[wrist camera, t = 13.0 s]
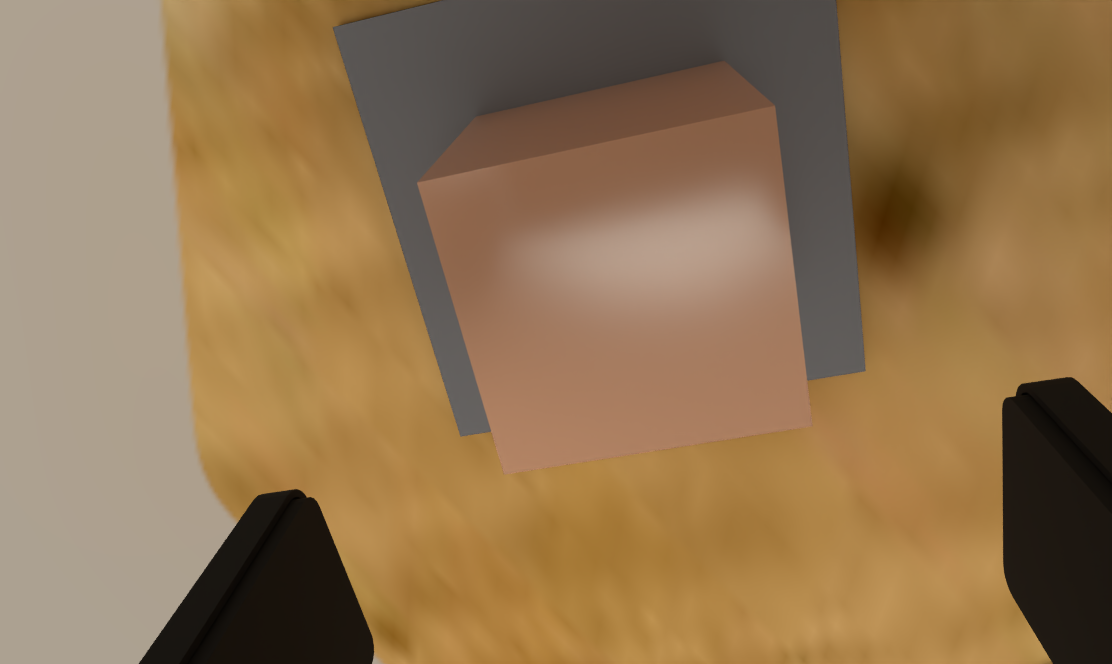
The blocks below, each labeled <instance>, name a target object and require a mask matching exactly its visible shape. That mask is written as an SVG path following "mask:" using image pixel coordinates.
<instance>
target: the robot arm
mask: <svg viewBox="0 0 1112 664" xmlns="http://www.w3.org/2000/svg"><path fill="white" fill-rule="evenodd" d="M1002 438H1003V565H1004V573H1005V578H1006V581H1007V585H1008V587H1009V590H1010V592H1011V594H1012V596H1013V598H1014V600H1015V601H1016V603H1017V605H1018V606H1019V608H1020V610H1021V611H1022V613H1023V615H1024V616H1025V618H1026V620H1027V621H1028V623H1029V625H1030V626H1031V628H1032V630H1033V631H1034V633H1035V635H1036V636H1037V638H1038V640H1039V641H1040V643H1041V645H1042V646H1043V648H1044V649H1045V651H1046V653H1047V654H1048V656H1049V658H1050V659H1051V661H1052V663H1053V664H1112V413H1111V412H1110V411H1109V410H1108V409H1107V408H1106V407H1105V406H1104V405H1102V404H1101V403H1100V402H1099V401H1098V400H1097V399H1096V398H1095V397H1094V396H1093V395H1092V394H1091V393H1090V392H1089V391H1088V390H1086V389H1085V388H1084V387H1083V386H1082V385H1081V384H1080V383H1079V382H1078V381H1077V380H1075V379H1074V378H1072V377H1066V378H1059V379H1052V380H1045V381H1038V382H1031V383H1024V384H1021V385H1020V386H1019V387H1018V389H1017V392H1016V396H1015V397H1008V398H1006V399H1005V400H1004V402H1003V408H1002ZM373 656H374V644H373V638H372V635H371V632H370V630H369V627H368V625H367V622H366V620H365V617H364V615H363V612H362V610H361V608H360V605H359V603H358V600H357V598H356V595H355V593H354V590H353V588H352V585H351V583H350V580H349V578H348V576H347V573H346V571H345V568H344V566H343V563H342V561H341V558H340V556H339V553H338V551H337V548H336V546H335V544H334V541H333V539H332V536H331V534H330V531H329V529H328V526H327V524H326V521H325V519H324V516H323V514H322V511H321V509H320V507H319V505H318V503H317V501H316V500H315V499H314V498H311V497H309V498H307V497H306V495H305V494H304V493H303V492H302V491H300V490H297V489H294V490H287V491H281V492H274V493H267V494H261V495H258V496H257V497H256V498H255V499H254V500H253V502H252V503H251V504H250V506H249V507H248V509H247V510H246V512H245V513H244V514H243V516H242V517H241V519H240V520H239V522H238V523H237V524H236V526H235V528H234V529H233V530H232V532H231V533H230V534H229V536H228V537H227V539H226V540H225V542H224V543H223V544H222V546H221V547H220V549H219V550H218V551H217V553H216V554H215V556H214V557H213V559H212V560H211V562H210V563H209V564H208V566H207V567H206V569H205V570H204V572H203V573H202V574H201V576H200V577H199V579H198V580H197V581H196V583H195V584H194V586H193V587H192V589H191V590H190V591H189V593H188V594H187V596H186V597H185V599H184V600H183V602H182V603H181V604H180V606H179V607H178V609H177V610H176V612H175V613H174V614H173V616H172V617H171V619H170V620H169V621H168V623H167V624H166V626H165V627H164V629H163V630H162V631H161V633H160V634H159V636H158V637H157V638H156V640H155V641H154V643H153V644H152V646H151V647H150V649H149V650H148V651H147V653H146V654H145V656H144V657H143V658H142V660H141V661H140V663H139V664H372V661H373Z"/></svg>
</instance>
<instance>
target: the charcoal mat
mask: <svg viewBox="0 0 1112 664" xmlns="http://www.w3.org/2000/svg"><path fill="white" fill-rule="evenodd" d="M333 30H334V33H335V36H336V40H337V43H338V46H339V49H340V52H341V56H342V59H343V62H344V65H345V68H346V72H347V75H348V78H349V81H350V84H351V88H352V91H353V94H354V97H355V100H356V103H357V107H358V110H359V113H360V116H361V119H362V123H363V126H364V129H365V132H366V135H367V139H368V142H369V145H370V148H371V151H372V155H373V158H374V161H375V164H376V167H377V171H378V174H379V177H380V180H381V183H382V187H383V190H384V193H385V196H386V199H387V203H388V206H389V209H390V212H391V215H392V219H393V222H394V225H395V228H396V231H397V235H398V238H399V241H400V244H401V247H402V251H403V254H404V257H405V260H406V263H407V267H408V270H409V273H410V276H411V279H412V283H413V286H414V289H415V292H416V295H417V299H418V302H419V305H420V308H421V311H422V315H423V318H424V321H425V324H426V327H427V331H428V334H429V337H430V340H431V343H432V347H433V350H434V353H435V356H436V359H437V363H438V366H439V369H440V372H441V375H442V379H443V382H444V385H445V388H446V391H447V394H448V398H449V401H450V404H451V407H452V410H453V414H454V417H455V420H456V423H457V426H458V430H459V433H460V436H467V435H473V434H479V433H485V432H491V429H490V425H489V422H488V419H487V415H486V412H485V409H484V405H483V402H482V399H481V395H480V392H479V389H478V385H477V382H476V379H475V375H474V372H473V369H472V365H471V362H470V359H469V355H468V352H467V348H466V345H465V342H464V338H463V335H462V332H461V328H460V325H459V322H458V318H457V315H456V312H455V308H454V305H453V302H452V298H451V295H450V292H449V288H448V285H447V282H446V278H445V275H444V272H443V268H442V265H441V262H440V258H439V255H438V252H437V248H436V245H435V242H434V238H433V235H432V231H431V228H430V225H429V221H428V218H427V215H426V211H425V208H424V205H423V201H422V198H421V195H420V191H419V188H418V185H417V182H418V181H419V180H420V179H421V178H422V176H423V175H424V174H425V173H426V172H427V171H428V170H429V169H430V167H431V166H432V165H433V164H434V163H435V162H436V161H437V160H438V158H439V157H440V156H441V155H442V154H443V153H444V152H445V151H446V149H447V148H448V147H449V146H450V145H451V144H452V143H453V142H454V140H455V139H456V138H457V137H458V136H459V135H460V134H461V133H462V131H463V130H464V129H465V128H466V127H467V126H468V125H469V124H470V122H471V121H472V120H473V119H474V118H475V117H476V116H481V115H485V114H490V113H494V112H499V111H503V110H507V109H512V108H516V107H521V106H525V105H530V104H534V103H538V102H543V101H547V100H552V99H556V98H561V97H565V96H570V95H574V94H578V93H583V92H587V91H592V90H596V89H601V88H605V87H609V86H614V85H618V84H623V83H627V82H632V81H636V80H640V79H645V78H649V77H654V76H658V75H663V74H667V73H672V72H676V71H680V70H685V69H689V68H694V67H698V66H703V65H707V64H711V63H716V62H720V61H725V62H726V63H728V64H729V65H730V66H731V67H732V68H733V69H734V70H736V71H737V72H738V73H739V74H740V75H741V76H742V77H743V78H745V79H746V80H747V81H748V82H749V83H750V84H751V85H752V86H754V87H755V88H756V89H757V90H758V91H759V92H760V93H761V94H763V95H764V96H765V97H766V98H767V99H768V100H769V101H770V102H772V103H773V104H774V105H775V109H776V118H777V127H778V135H779V144H780V152H781V161H782V169H783V178H784V187H785V195H786V204H787V212H788V221H789V229H790V238H791V246H792V255H793V264H794V272H795V281H796V289H797V298H798V306H799V315H800V324H801V332H802V341H803V349H804V358H805V366H806V375H807V380H814V379H820V378H826V377H832V376H838V375H845V374H851V373H857V372H863V371H866V370H865V358H864V345H863V332H862V320H861V307H860V295H859V282H858V269H857V257H856V244H855V232H854V219H853V207H852V194H851V181H850V169H849V156H848V144H847V131H846V118H845V106H844V93H843V81H842V68H841V55H840V43H839V30H838V18H837V5H836V0H442V1H438V2H434V3H430V4H426V5H422V6H418V7H414V8H410V9H406V10H401V11H397V12H393V13H389V14H385V15H381V16H377V17H373V18H369V19H365V20H361V21H356V22H352V23H348V24H344V25H340V26H336V27H333Z"/></svg>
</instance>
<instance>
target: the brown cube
mask: <svg viewBox="0 0 1112 664" xmlns="http://www.w3.org/2000/svg"><path fill="white" fill-rule="evenodd" d="M417 185H418V188H419V191H420V195H421V198H422V201H423V205H424V208H425V211H426V215H427V218H428V221H429V225H430V228H431V231H432V235H433V238H434V242H435V245H436V248H437V252H438V255H439V258H440V262H441V265H442V268H443V272H444V275H445V278H446V282H447V285H448V288H449V292H450V295H451V298H452V302H453V305H454V308H455V312H456V315H457V318H458V322H459V325H460V328H461V332H462V335H463V338H464V342H465V345H466V348H467V352H468V355H469V359H470V362H471V365H472V369H473V372H474V375H475V379H476V382H477V385H478V389H479V392H480V395H481V399H482V402H483V405H484V409H485V412H486V415H487V419H488V422H489V425H490V429H491V432H492V435H493V439H494V442H495V445H496V449H497V452H498V455H499V459H500V462H501V465H502V469H503V472H504V474H510V473H517V472H523V471H530V470H536V469H542V468H549V467H555V466H561V465H568V464H574V463H581V462H587V461H593V460H600V459H606V458H613V457H619V456H625V455H632V454H638V453H644V452H651V451H657V450H664V449H670V448H676V447H683V446H689V445H696V444H702V443H708V442H715V441H721V440H728V439H734V438H740V437H747V436H753V435H759V434H766V433H772V432H779V431H785V430H791V429H798V428H804V427H811V426H812V418H811V409H810V401H809V392H808V383H807V375H806V366H805V358H804V349H803V341H802V332H801V324H800V315H799V306H798V298H797V289H796V281H795V272H794V264H793V255H792V246H791V238H790V229H789V221H788V212H787V204H786V195H785V187H784V178H783V169H782V161H781V152H780V144H779V135H778V127H777V118H776V109H775V105H774V104H773V103H772V102H770V101H769V100H768V99H767V98H766V97H765V96H764V95H763V94H761V93H760V92H759V91H758V90H757V89H756V88H755V87H754V86H752V85H751V84H750V83H749V82H748V81H747V80H746V79H745V78H743V77H742V76H741V75H740V74H739V73H738V72H737V71H736V70H734V69H733V68H732V67H731V66H730V65H729V64H728V63H726V62H725V61H720V62H716V63H711V64H707V65H703V66H698V67H694V68H689V69H685V70H680V71H676V72H672V73H667V74H663V75H658V76H654V77H649V78H645V79H640V80H636V81H632V82H627V83H623V84H618V85H614V86H609V87H605V88H601V89H596V90H592V91H587V92H583V93H578V94H574V95H570V96H565V97H561V98H556V99H552V100H547V101H543V102H538V103H534V104H530V105H525V106H521V107H516V108H512V109H507V110H503V111H499V112H494V113H490V114H485V115H481V116H476V117H475V118H474V119H473V120H472V121H471V122H470V124H469V125H468V126H467V127H466V128H465V129H464V130H463V131H462V133H461V134H460V135H459V136H458V137H457V138H456V139H455V140H454V142H453V143H452V144H451V145H450V146H449V147H448V148H447V149H446V151H445V152H444V153H443V154H442V155H441V156H440V157H439V158H438V160H437V161H436V162H435V163H434V164H433V165H432V166H431V167H430V169H429V170H428V171H427V172H426V173H425V174H424V175H423V176H422V178H421V179H420V180H419V181H418V182H417Z"/></svg>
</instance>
